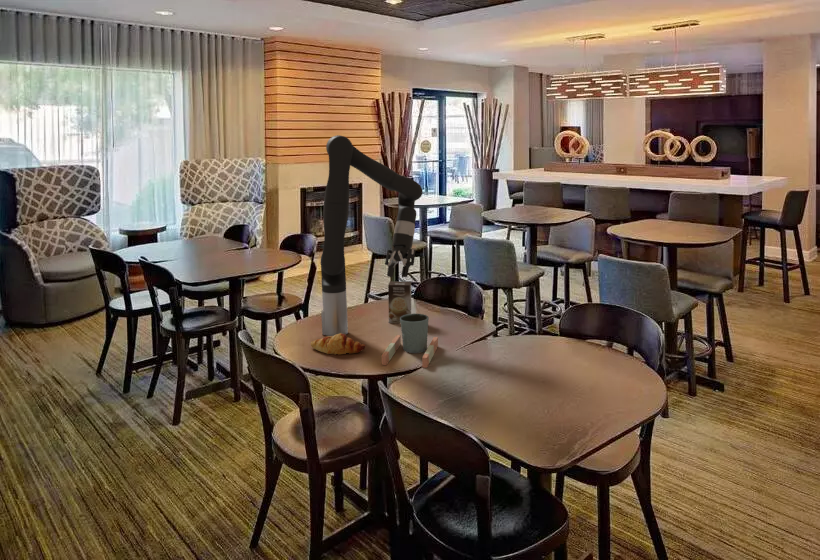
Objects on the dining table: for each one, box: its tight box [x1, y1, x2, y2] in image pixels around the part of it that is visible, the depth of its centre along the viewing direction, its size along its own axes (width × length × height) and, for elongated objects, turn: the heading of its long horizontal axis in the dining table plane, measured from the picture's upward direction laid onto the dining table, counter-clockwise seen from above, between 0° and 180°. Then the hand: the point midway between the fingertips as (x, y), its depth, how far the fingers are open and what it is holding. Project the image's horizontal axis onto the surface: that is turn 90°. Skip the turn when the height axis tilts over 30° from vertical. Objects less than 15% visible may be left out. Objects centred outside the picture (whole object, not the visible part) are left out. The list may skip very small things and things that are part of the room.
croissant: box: [310, 333, 366, 355], centre depth 241 cm, size 21×10×8 cm
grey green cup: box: [399, 313, 429, 354], centre depth 240 cm, size 10×10×12 cm
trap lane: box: [381, 334, 439, 369], centre depth 235 cm, size 15×22×4 cm
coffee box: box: [387, 281, 412, 324], centre depth 274 cm, size 9×6×16 cm
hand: (396, 276), depth 250 cm, fingers open, 8 cm apart
